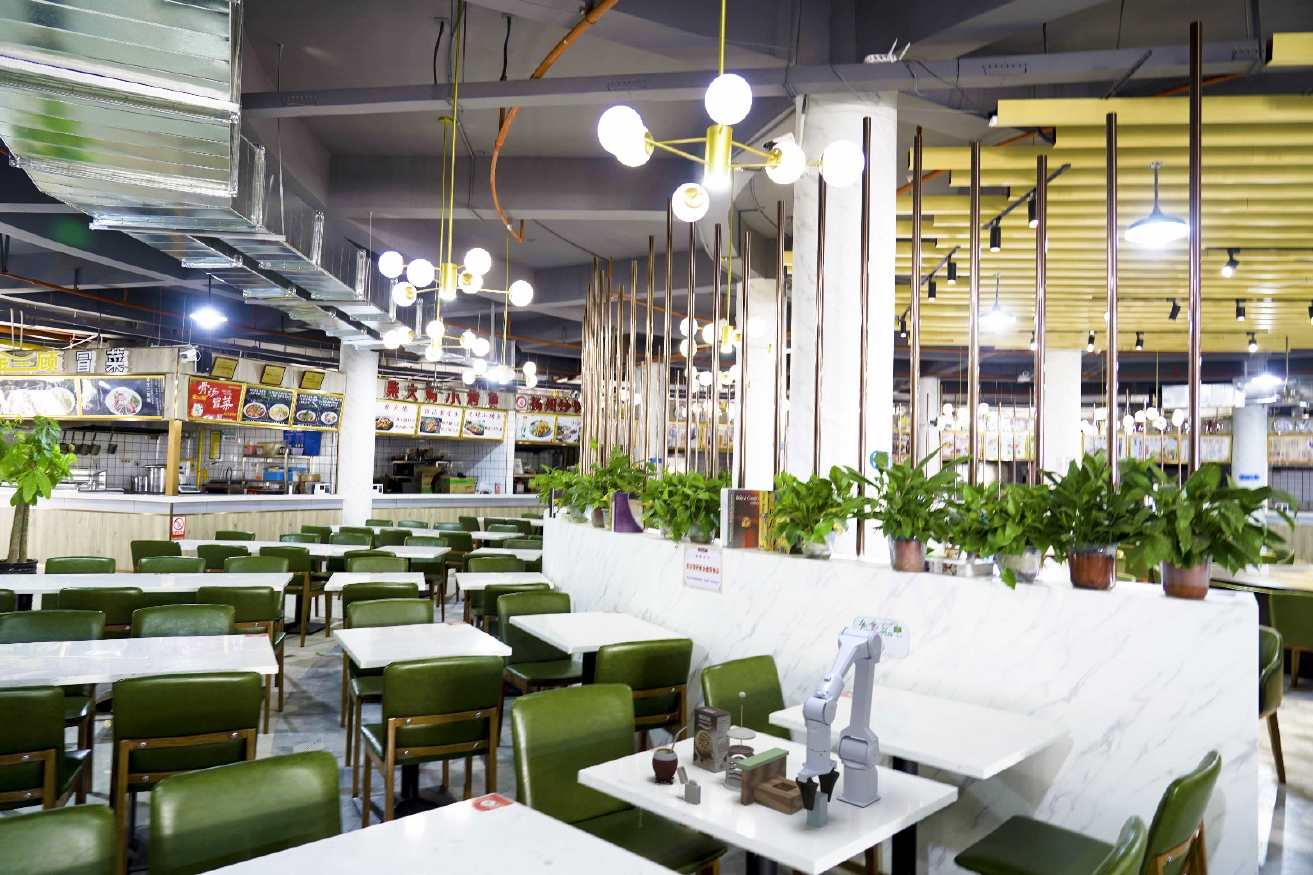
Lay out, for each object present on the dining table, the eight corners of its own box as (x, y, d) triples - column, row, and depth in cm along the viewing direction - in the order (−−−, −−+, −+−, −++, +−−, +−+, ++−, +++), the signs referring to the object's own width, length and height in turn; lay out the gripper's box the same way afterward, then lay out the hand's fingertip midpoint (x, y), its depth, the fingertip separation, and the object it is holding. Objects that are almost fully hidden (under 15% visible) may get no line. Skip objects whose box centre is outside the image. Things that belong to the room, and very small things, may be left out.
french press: (756, 793, 219) (758, 697, 220) (713, 789, 221) (715, 694, 223) (759, 780, 229) (761, 689, 230) (717, 776, 231) (720, 685, 232)
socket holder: (775, 784, 226) (776, 747, 226) (821, 799, 216) (822, 760, 217) (734, 801, 213) (735, 762, 213) (781, 818, 203) (782, 777, 203)
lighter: (700, 803, 211) (701, 771, 212) (696, 805, 210) (697, 772, 211) (679, 795, 216) (680, 764, 217) (675, 797, 215) (676, 765, 215)
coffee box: (691, 764, 240) (693, 708, 241) (707, 760, 244) (708, 704, 245) (714, 773, 233) (716, 715, 234) (730, 768, 238) (731, 711, 239)
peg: (814, 819, 203) (815, 790, 204) (827, 823, 201) (827, 794, 201) (806, 823, 201) (807, 794, 201) (819, 827, 198) (819, 798, 199)
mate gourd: (646, 779, 227) (648, 724, 228) (668, 774, 232) (670, 719, 233) (663, 788, 221) (665, 731, 222) (686, 782, 226) (687, 726, 227)
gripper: (820, 738, 210) (819, 793, 209) (787, 750, 199) (786, 808, 198) (844, 744, 205) (843, 801, 204) (812, 757, 194) (811, 817, 194)
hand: (817, 805), depth 201 cm, fingers open, 7 cm apart
